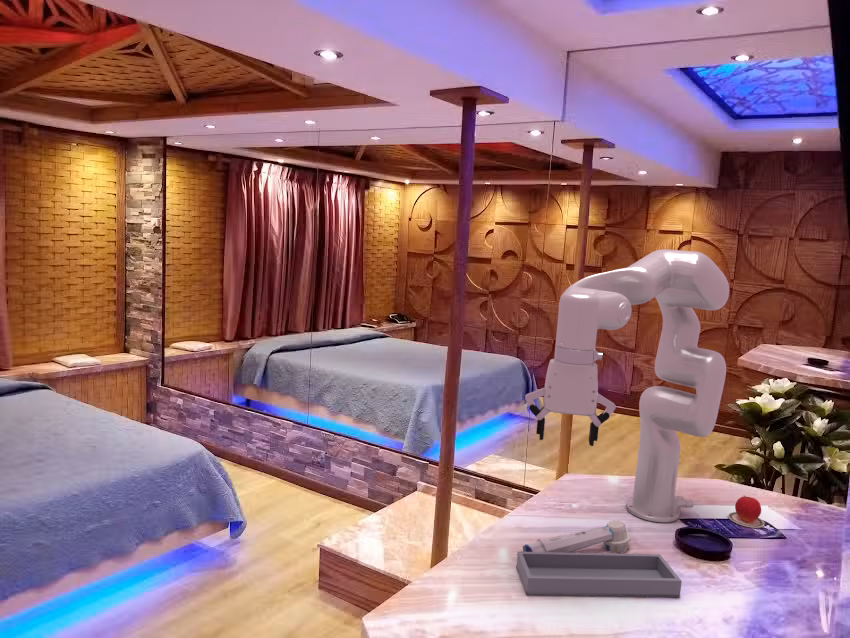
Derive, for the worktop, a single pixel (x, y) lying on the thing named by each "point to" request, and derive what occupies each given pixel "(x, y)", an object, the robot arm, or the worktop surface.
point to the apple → (747, 513)
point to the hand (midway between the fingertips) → (565, 440)
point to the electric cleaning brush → (586, 540)
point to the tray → (597, 575)
